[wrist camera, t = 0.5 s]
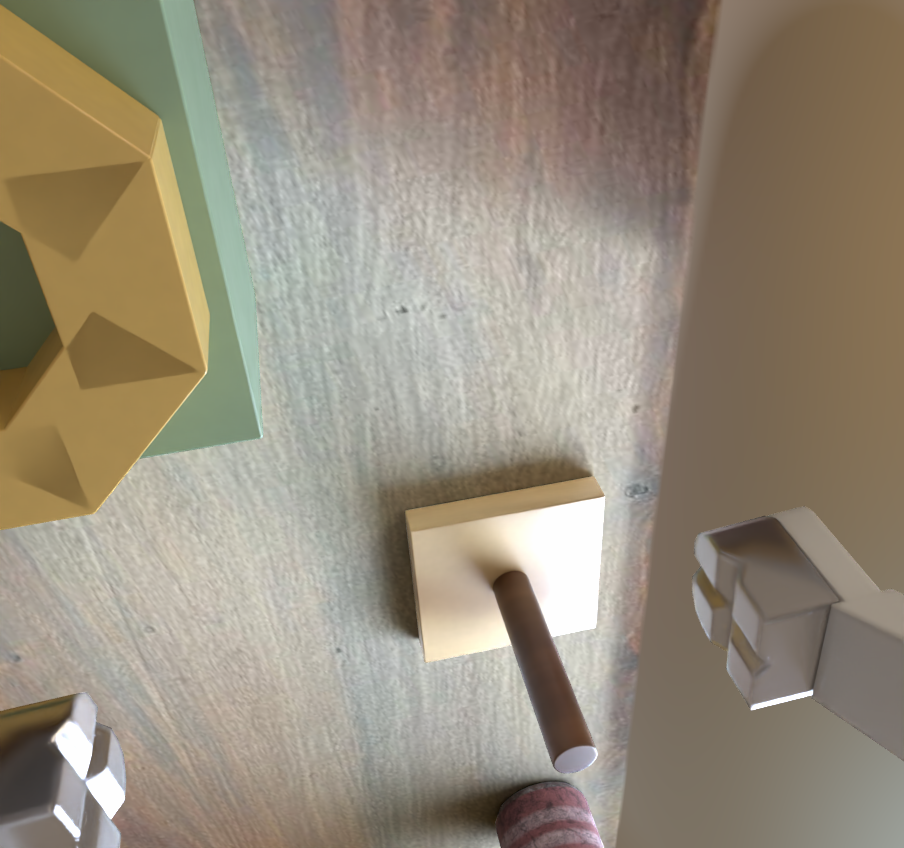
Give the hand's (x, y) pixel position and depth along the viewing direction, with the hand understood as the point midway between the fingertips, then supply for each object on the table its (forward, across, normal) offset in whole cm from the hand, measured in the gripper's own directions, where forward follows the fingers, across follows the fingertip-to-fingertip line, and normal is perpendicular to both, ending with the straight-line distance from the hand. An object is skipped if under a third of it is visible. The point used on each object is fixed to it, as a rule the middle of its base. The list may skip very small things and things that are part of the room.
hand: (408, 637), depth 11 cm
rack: (+21, -5, +22) cm, 31 cm away
